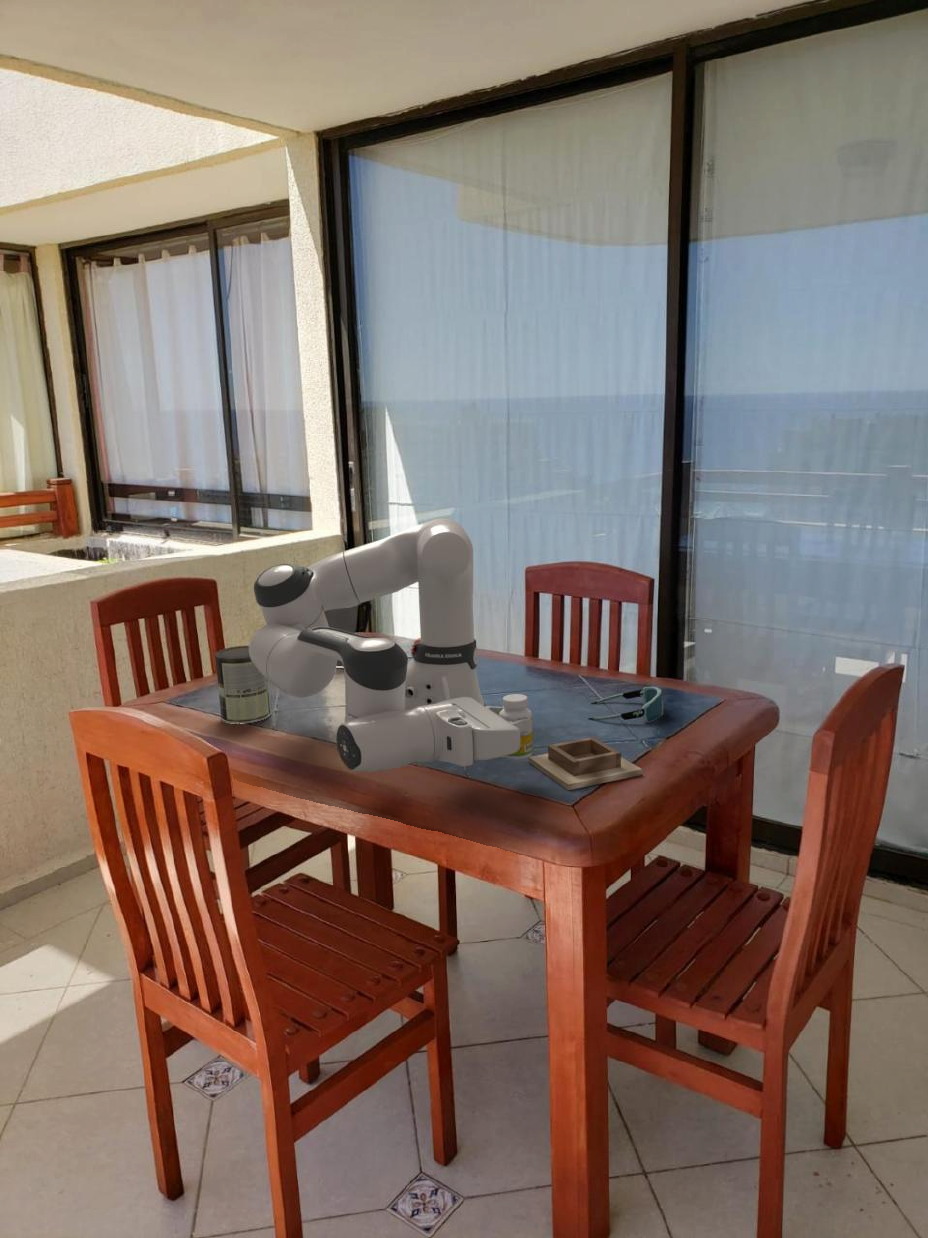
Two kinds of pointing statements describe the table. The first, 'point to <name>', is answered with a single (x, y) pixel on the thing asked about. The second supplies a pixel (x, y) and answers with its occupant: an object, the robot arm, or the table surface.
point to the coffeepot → (347, 619)
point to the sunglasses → (651, 707)
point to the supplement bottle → (512, 712)
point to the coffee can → (241, 687)
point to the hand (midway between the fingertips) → (520, 717)
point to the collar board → (584, 763)
